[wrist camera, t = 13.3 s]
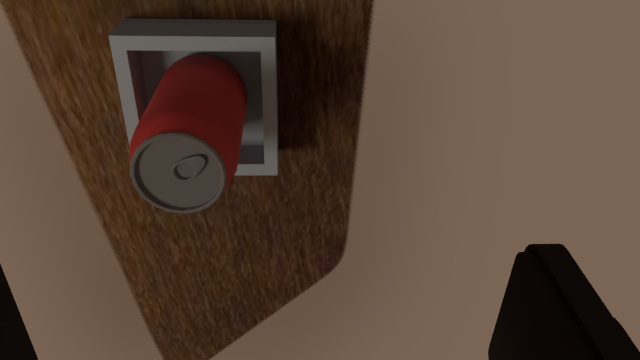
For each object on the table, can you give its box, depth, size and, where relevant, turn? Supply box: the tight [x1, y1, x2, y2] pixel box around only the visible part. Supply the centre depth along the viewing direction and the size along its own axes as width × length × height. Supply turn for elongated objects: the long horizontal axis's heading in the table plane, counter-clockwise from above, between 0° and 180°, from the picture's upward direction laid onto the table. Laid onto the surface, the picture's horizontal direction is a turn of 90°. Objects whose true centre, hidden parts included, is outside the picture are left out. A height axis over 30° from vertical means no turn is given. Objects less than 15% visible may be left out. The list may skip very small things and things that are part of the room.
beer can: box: [130, 54, 248, 214], centre depth 36 cm, size 7×7×12 cm
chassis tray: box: [109, 18, 278, 175], centre depth 40 cm, size 11×11×4 cm
